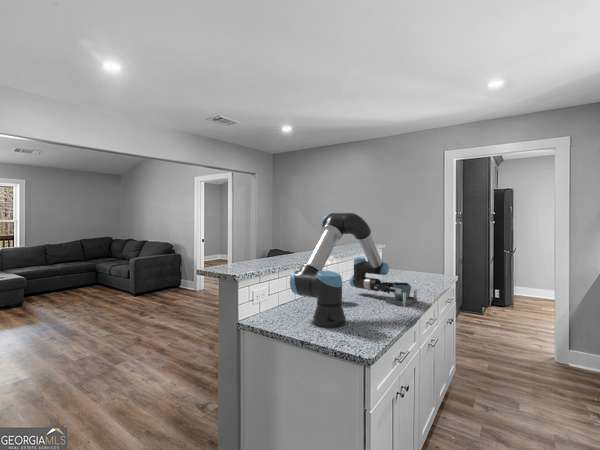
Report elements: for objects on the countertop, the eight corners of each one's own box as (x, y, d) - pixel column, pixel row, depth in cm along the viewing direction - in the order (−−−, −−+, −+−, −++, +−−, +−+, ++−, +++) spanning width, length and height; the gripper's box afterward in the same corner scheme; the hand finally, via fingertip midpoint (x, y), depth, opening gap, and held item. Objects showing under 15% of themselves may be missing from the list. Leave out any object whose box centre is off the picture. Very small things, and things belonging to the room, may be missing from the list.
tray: (405, 306, 177) (405, 293, 177) (385, 302, 185) (385, 289, 185) (417, 301, 187) (417, 288, 187) (398, 298, 196) (398, 285, 196)
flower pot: (407, 297, 190) (407, 282, 190) (411, 301, 181) (411, 285, 181) (392, 297, 191) (392, 282, 191) (394, 301, 182) (395, 285, 182)
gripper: (382, 287, 208) (415, 292, 193) (361, 293, 191) (395, 300, 176) (382, 275, 208) (415, 280, 192) (361, 280, 191) (395, 286, 176)
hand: (406, 289), depth 184 cm, fingers closed on flower pot, 11 cm apart
